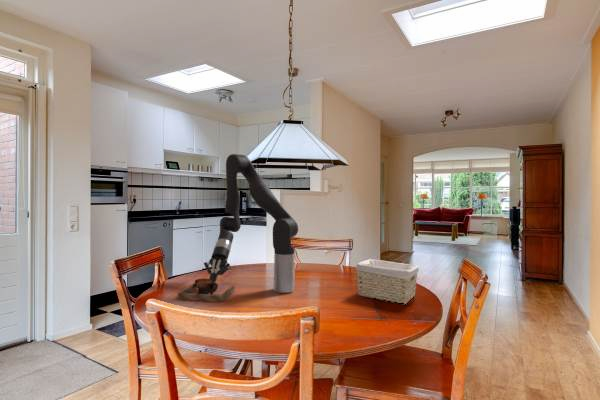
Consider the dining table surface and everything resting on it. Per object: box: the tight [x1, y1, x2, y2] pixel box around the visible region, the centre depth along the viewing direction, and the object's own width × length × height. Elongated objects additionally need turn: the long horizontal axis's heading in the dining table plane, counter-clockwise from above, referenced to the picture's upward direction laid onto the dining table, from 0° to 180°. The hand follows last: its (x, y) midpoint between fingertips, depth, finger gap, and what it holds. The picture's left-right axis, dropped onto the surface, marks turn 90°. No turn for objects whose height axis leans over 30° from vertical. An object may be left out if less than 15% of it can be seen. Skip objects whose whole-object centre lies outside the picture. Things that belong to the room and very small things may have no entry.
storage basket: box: [355, 258, 420, 305], centre depth 152 cm, size 24×16×15 cm
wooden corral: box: [177, 283, 235, 303], centre depth 147 cm, size 19×16×2 cm
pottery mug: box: [193, 278, 219, 295], centre depth 148 cm, size 12×10×8 cm
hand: (212, 281), depth 153 cm, fingers closed
